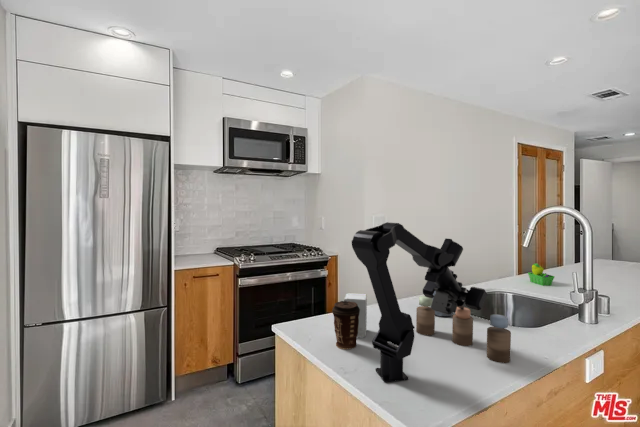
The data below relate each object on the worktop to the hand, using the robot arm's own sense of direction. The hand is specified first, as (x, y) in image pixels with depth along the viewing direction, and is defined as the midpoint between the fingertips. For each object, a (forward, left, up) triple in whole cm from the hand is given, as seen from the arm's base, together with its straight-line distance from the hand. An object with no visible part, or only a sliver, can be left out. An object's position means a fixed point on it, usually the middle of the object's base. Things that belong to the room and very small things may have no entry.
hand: (462, 308), depth 108 cm
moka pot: (+26, -9, -11) cm, 29 cm away
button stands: (-1, +1, -11) cm, 11 cm away
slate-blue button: (-12, -3, -1) cm, 12 cm away
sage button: (+10, +7, -1) cm, 12 cm away
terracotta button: (0, 0, -3) cm, 3 cm away
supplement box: (+15, +31, -11) cm, 36 cm away
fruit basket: (+60, -90, -11) cm, 109 cm away
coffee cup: (+6, +37, -11) cm, 39 cm away
